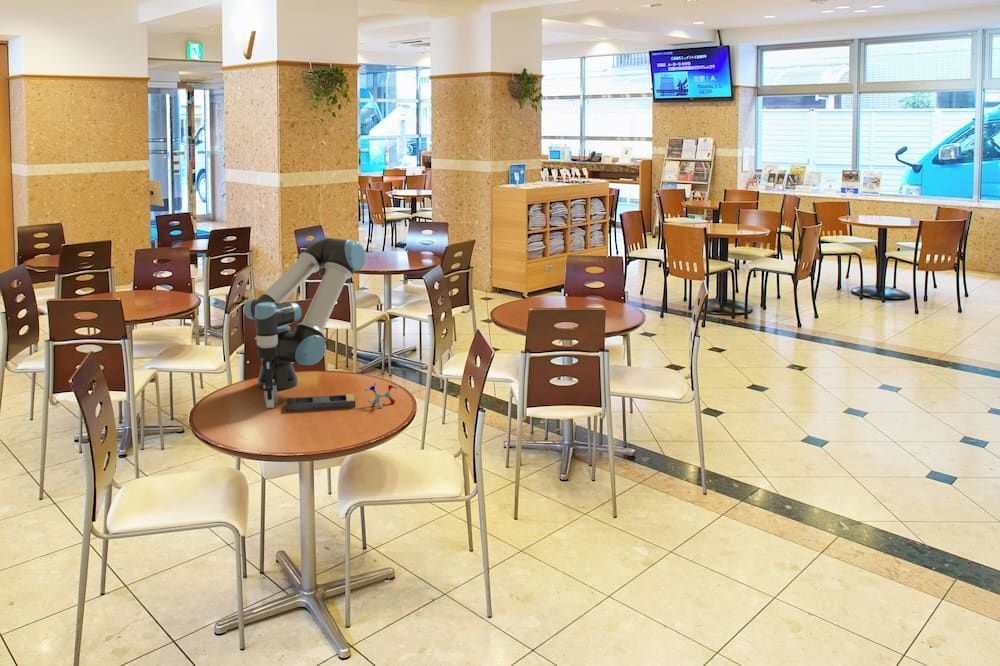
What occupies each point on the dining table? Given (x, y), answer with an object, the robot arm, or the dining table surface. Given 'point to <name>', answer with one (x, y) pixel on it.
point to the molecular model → (380, 394)
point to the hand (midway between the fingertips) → (270, 401)
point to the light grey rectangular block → (273, 392)
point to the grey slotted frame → (320, 402)
